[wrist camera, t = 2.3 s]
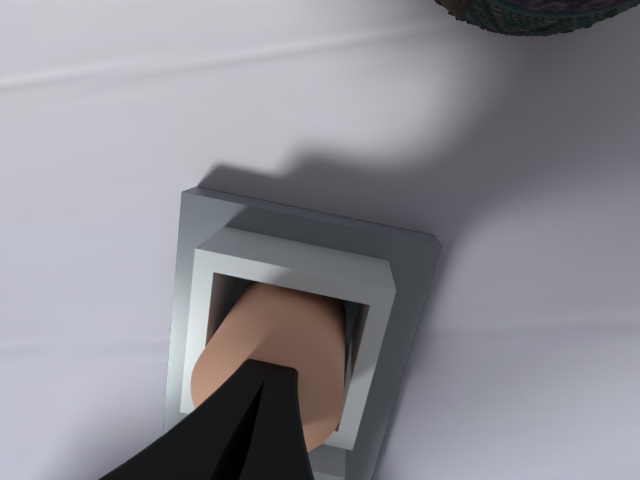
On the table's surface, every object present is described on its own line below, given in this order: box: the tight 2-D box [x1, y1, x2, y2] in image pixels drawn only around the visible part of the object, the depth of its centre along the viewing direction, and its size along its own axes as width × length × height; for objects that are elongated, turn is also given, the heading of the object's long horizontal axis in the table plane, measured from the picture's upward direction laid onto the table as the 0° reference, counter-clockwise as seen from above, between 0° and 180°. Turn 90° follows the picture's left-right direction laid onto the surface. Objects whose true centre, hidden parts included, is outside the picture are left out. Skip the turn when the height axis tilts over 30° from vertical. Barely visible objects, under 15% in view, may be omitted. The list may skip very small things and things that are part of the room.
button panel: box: [163, 187, 442, 480], centre depth 15 cm, size 22×9×4 cm, turn 169°
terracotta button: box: [190, 281, 346, 452], centre depth 12 cm, size 4×4×4 cm
